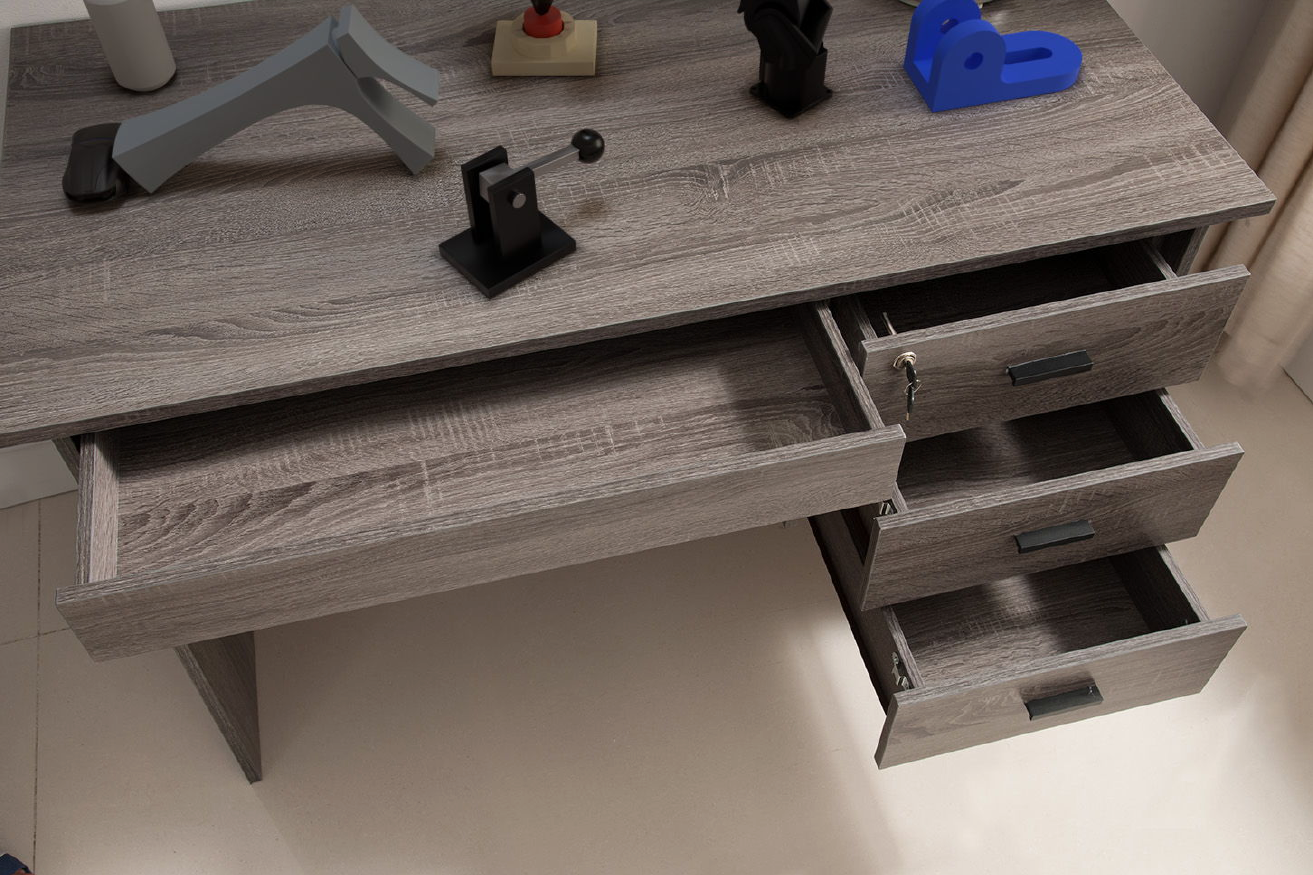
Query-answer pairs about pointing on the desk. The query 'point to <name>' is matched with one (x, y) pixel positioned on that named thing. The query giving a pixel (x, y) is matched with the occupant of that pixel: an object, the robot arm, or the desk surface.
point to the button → (543, 23)
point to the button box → (545, 49)
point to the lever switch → (503, 229)
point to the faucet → (291, 100)
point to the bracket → (982, 58)
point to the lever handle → (550, 159)
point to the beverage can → (133, 42)
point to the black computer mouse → (94, 167)
